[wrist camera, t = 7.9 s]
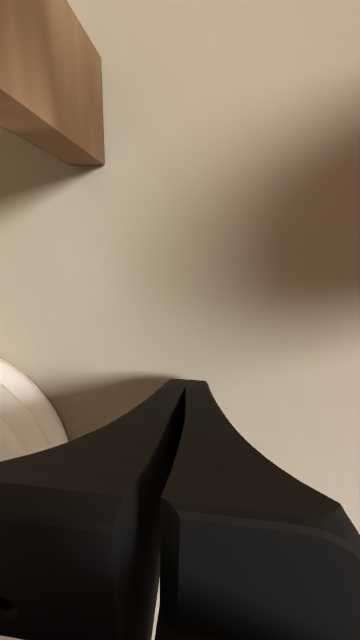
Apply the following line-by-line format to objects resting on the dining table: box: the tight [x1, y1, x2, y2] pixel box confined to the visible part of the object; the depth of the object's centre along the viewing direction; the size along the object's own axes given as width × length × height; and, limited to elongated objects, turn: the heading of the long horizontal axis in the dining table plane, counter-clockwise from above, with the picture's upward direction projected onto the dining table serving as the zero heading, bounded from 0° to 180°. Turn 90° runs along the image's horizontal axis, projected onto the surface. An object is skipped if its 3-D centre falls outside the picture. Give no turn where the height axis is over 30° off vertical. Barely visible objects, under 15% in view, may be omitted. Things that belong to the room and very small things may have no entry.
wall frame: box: [0, 0, 105, 165], centre depth 9 cm, size 22×1×7 cm, turn 178°
